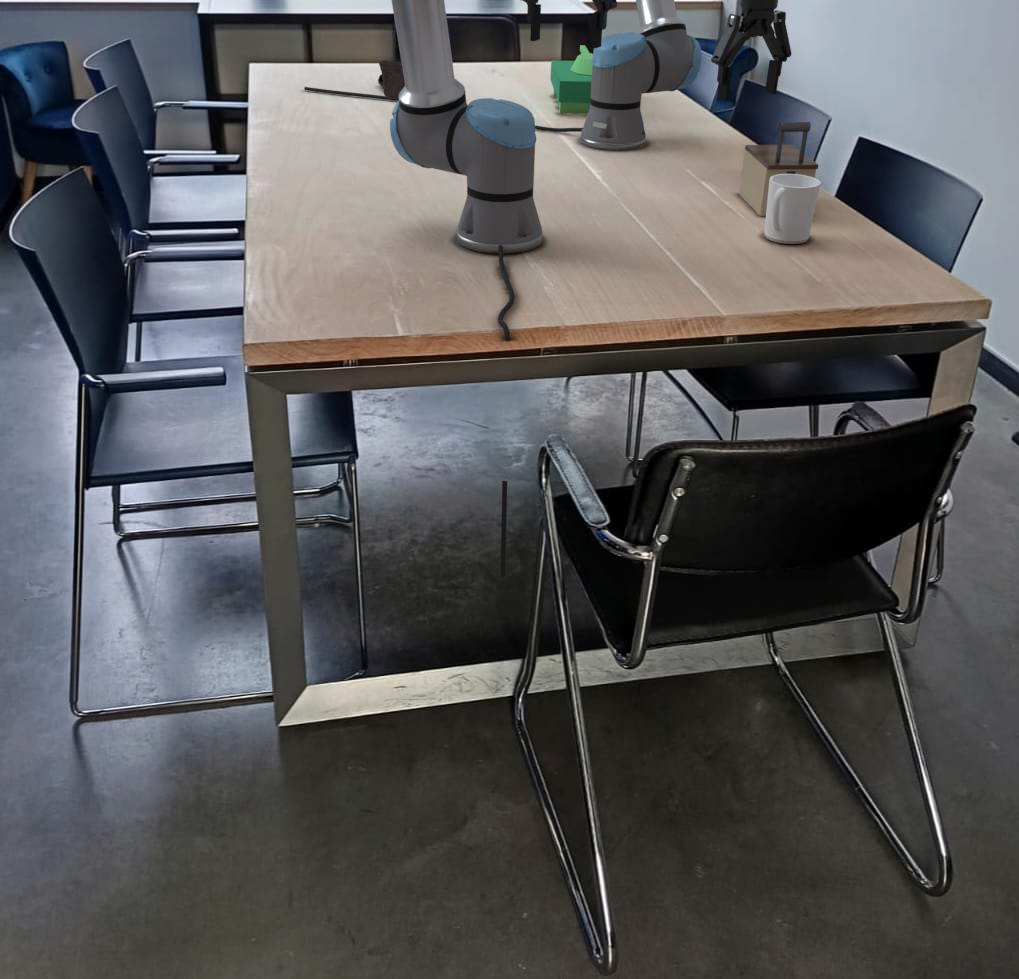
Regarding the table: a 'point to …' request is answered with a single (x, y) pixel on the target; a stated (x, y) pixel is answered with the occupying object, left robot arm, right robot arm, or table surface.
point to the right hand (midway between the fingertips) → (746, 95)
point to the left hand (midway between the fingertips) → (565, 43)
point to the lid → (784, 150)
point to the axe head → (391, 78)
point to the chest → (761, 181)
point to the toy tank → (573, 83)
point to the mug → (790, 208)
